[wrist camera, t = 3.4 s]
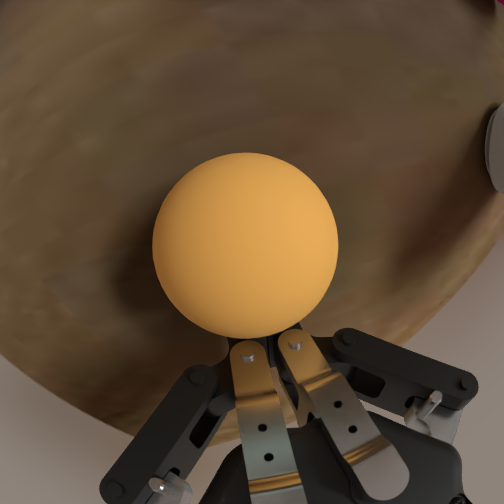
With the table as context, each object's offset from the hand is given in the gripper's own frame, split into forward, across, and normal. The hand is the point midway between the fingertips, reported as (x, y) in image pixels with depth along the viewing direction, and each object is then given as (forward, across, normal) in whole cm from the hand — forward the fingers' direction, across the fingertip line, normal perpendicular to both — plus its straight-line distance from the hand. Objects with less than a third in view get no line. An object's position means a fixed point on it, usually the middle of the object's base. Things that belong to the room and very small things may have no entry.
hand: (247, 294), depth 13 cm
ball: (-2, 0, -4) cm, 5 cm away
